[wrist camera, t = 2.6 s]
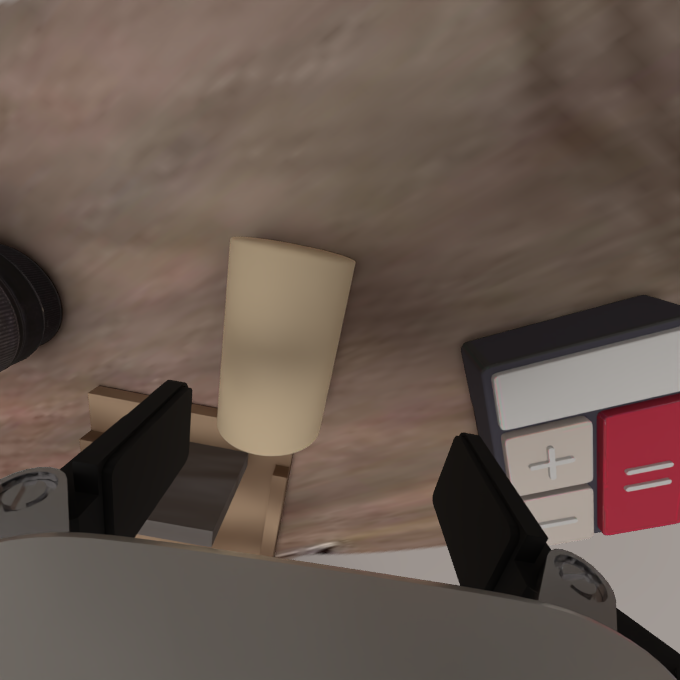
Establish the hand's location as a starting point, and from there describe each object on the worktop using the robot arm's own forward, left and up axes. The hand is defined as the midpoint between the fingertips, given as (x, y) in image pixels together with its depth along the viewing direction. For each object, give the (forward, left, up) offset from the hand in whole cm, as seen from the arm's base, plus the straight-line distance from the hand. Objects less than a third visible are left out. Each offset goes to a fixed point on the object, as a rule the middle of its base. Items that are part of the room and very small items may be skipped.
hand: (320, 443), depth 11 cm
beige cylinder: (-1, -3, -7) cm, 7 cm away
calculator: (+2, +16, -10) cm, 19 cm away
